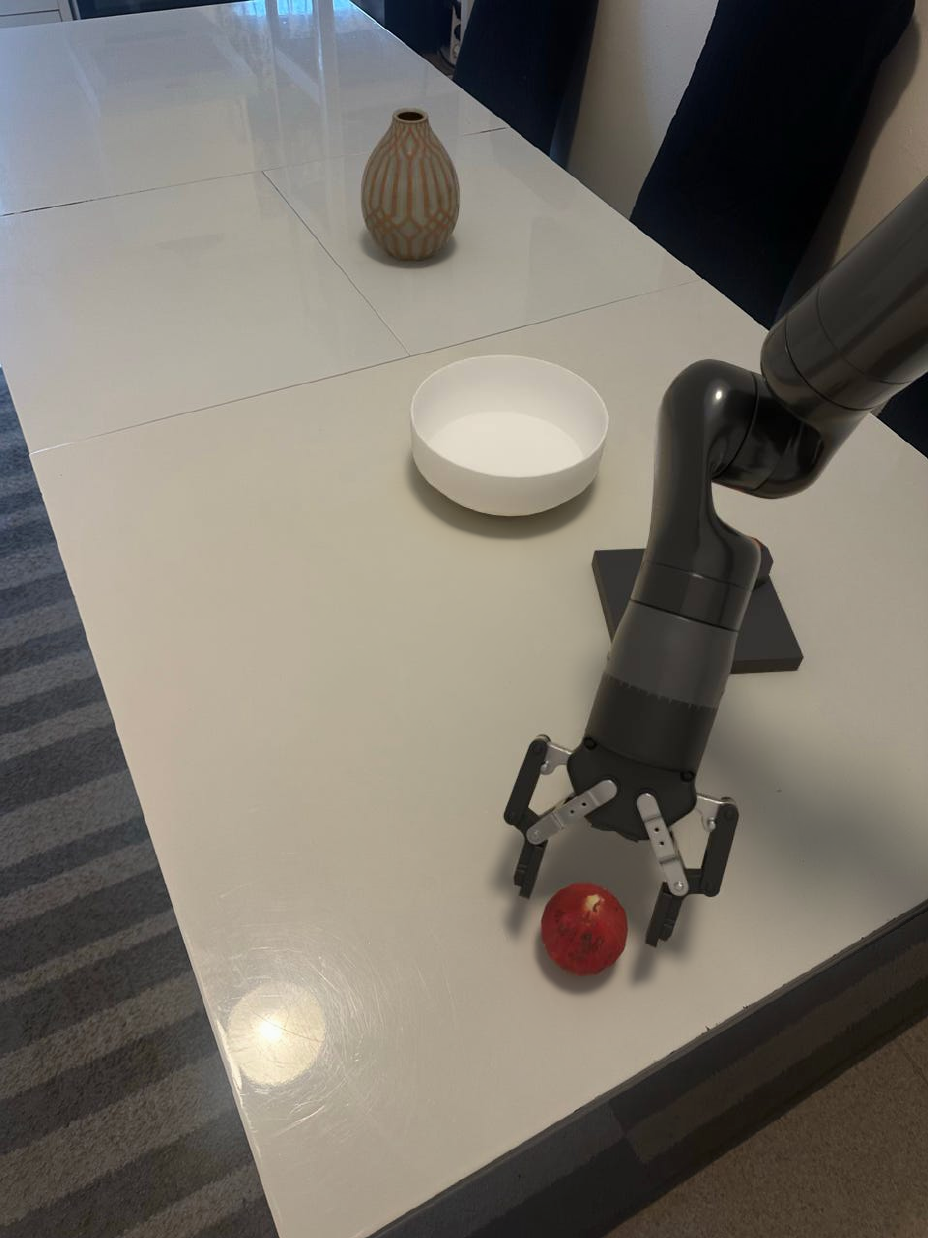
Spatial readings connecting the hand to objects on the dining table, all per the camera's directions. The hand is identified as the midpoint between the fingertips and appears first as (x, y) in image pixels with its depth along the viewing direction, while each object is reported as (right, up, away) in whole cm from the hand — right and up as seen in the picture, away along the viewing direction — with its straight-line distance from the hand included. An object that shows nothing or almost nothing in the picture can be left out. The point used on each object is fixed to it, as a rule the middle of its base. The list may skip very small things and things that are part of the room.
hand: (587, 917), depth 60 cm
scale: (+13, +20, +25) cm, 35 cm away
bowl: (-4, +34, +37) cm, 50 cm away
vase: (-15, +71, +67) cm, 98 cm away
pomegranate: (0, -4, +5) cm, 6 cm away
